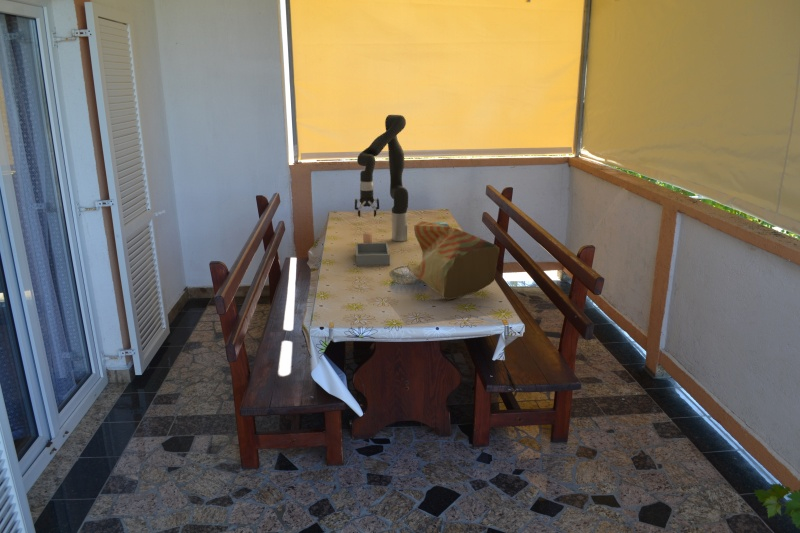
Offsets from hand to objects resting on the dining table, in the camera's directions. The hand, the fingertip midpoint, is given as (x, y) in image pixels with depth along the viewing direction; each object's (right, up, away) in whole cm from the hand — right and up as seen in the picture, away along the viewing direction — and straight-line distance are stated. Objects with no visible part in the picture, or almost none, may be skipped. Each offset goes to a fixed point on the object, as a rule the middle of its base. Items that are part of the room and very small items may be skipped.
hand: (367, 216), depth 370 cm
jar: (0, -18, +6) cm, 19 cm away
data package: (+42, -15, +17) cm, 48 cm away
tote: (+4, -25, -15) cm, 29 cm away
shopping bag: (+43, -39, -60) cm, 84 cm away
